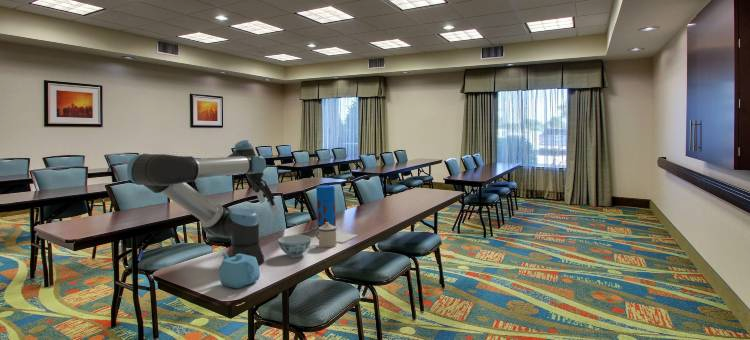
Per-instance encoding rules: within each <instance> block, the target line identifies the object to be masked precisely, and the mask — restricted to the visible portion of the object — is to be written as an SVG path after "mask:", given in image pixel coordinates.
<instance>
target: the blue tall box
mask: <svg viewBox="0 0 750 340" xmlns="http://www.w3.org/2000/svg"><path fill="white" fill-rule="evenodd" d="M315 189H316V192H315V193H316V194H315V195H316V219H317V220H316V221H317V222H316V223H317V229H318V228H319V227H321V226H323V225H325V223H326V222H329V224H331V225H332V226H335V227H336V228H337V226H336V223H337V222H336V215H337V214H336V188H335V185H332V184H331V185H330V184H329V185H328V184H326V185H317V186H316V188H315Z"/></svg>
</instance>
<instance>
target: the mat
mask: <svg viewBox="0 0 750 340" xmlns="http://www.w3.org/2000/svg"><path fill="white" fill-rule="evenodd" d="M358 236H359V235H358V234H354V233H353V234H352V233H342V232H336V244H345V243H348V242H349V241H351V240H353V239H355V238H357V237H358Z"/></svg>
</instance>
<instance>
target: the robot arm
mask: <svg viewBox="0 0 750 340" xmlns="http://www.w3.org/2000/svg"><path fill="white" fill-rule="evenodd" d="M234 149H235V151H233V152H232V153H230V154H229V155H228V156H224V157H223V156H221V157H203V158H195V157H194V156H190V155H189V156H186V155H185V156H181V155H173V154H166V153H165V154H164V153H162V154H161V153H155V154H154V153H151V154H150V153H142V154H137V155H135V156H133V157H132V158H130V160H129V161H128V163H127V167H126V175H127V176H128V179H129V180H130V181H131V183H134V184H136V185H139V186H142V185H143V186H144V187H145V188H147V189H148V190H150V191H151V192H153V193H154V194H162V195H164V196H165V197H167V198H168V199H170V200H171V201H172V202H174V203H175V204H177V205H178V206H180V208H183V209H184V210H185V211H187V212H188V213H190V214H191V215H192V216H193V217H195V218H196V219H198V220H199V223H200V225H201V226H202V229H203V230H204V232H205V233H206V234H208V235H211V236H212V237H221V238H222V237H223V238H227V239H230V241H231V243H230V244H231V248H230V252H229V255H228V257H229V258H230V257H234V256H235V255H236V254H244V255H249V256H253V257H256V260H257V262H258V266H260V265H263V264H264V263H265V255H264V254H263V251H262V248H261V245H260V225H259V224H260V220H259V213H258V212H257V211H255V209H254V210H253V209H251V208H250V209H249V208H236V209H232V210H228V209H226V208H225V207H224V206H222V205H221V204H219V203H213V202H212V201H210V200H209V199H208V198H206V197H205V196H204V195H202V194H201V193H200V192H199V191H197V190H196V189H195V188H193V187H192V186H191V185H189V184H188V183H190V182H195V181H196V180H197V179H203V178H213V177H222V176H226V177H230V176H232V175H241V174H246V177H247V178H248V181H250V182H251V188H252V190H253V191H254V193H255V194H256V196H257V200H258V201H259V204H261V205H262V204H263V203H265V202H267V203H268V205H269V207H270V209H271V211H272V212H274V211H277V210H278V207H277V204H276V202H275V198H276V197H275V196H274V194H273V193H272V191H271V190H270V187H269V186H268V185H267V182H266V181H265V180H264V179H262V178H263V177H264V175H265V174H264V171H265V169H266V167H267V163H266V159H265V157H264V156H261V155H257V154H256V152H255V150H254V147H253V144H252V143H251V141H250V140H248V139H244V140H240V141H238V142H236V143H235V145H234ZM265 198H266V199H267V200H266V199H265Z"/></svg>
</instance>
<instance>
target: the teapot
mask: <svg viewBox="0 0 750 340" xmlns="http://www.w3.org/2000/svg"><path fill="white" fill-rule="evenodd" d="M221 255H222V257H223V260H222V261H221V266H220V269H219V282H220V283H221V285H223V286H225V287H229V288H234V289H242V288H243V287H244V286H248V285H252V284H254V283H255V282H257V281H259V280H260V276H261V274H260V267H259V266H260V265H258V262H257V260H256V257H253V256H249V255H244V254H236V255H235V256H234V257H230V258H229V255H228V254H227V253H226V252H221Z"/></svg>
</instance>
